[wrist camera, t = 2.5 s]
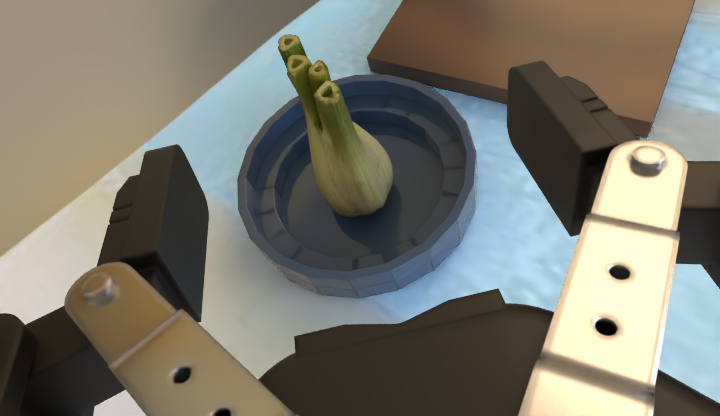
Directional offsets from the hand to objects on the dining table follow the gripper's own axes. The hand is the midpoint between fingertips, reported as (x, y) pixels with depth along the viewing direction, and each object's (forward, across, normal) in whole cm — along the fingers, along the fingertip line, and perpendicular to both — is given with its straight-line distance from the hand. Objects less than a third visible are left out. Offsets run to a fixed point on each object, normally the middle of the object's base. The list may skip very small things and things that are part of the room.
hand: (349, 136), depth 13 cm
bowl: (+17, 0, +16) cm, 23 cm away
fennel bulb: (+17, 0, +16) cm, 23 cm away
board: (+25, -15, +12) cm, 32 cm away
